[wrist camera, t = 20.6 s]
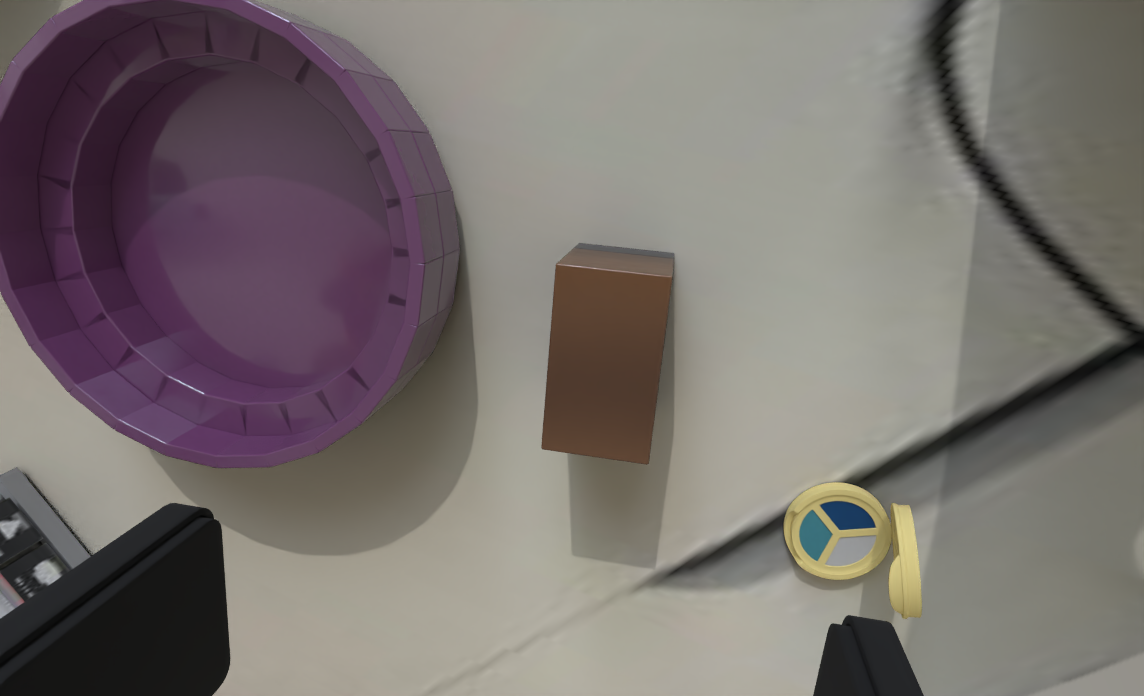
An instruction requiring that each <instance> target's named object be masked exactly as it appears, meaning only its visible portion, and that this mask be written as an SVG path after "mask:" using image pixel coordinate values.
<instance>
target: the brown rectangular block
mask: <svg viewBox="0 0 1144 696" xmlns="http://www.w3.org/2000/svg"><path fill="white" fill-rule="evenodd" d="M673 267H674V253H667V252H658V251H648V250H639V249H630V248H620V247H611V246H602V245H592V244H583V243H579V244H578V245H577V246H576V247H574V248H573V249H572V250H571V251H570V252H569V253H568V254H567V255H566V256H564V257H563V258H562V259H561V260H560V261H559V262H558V263H557V264H556V270H555V282H554V295H553V308H552V320H551V333H550V346H549V358H548V371H547V384H546V396H545V409H544V422H543V434H542V447H541V448H542V449H544V450H551V451H558V452H565V453H572V454H579V455H586V456H593V457H599V458H606V459H613V460H620V461H627V462H634V463H641V464H648V463H649V457H650V449H651V442H652V434H653V426H654V418H655V410H656V403H657V395H658V387H659V379H660V371H661V364H662V356H663V348H664V340H665V332H666V325H667V317H668V309H669V301H670V293H671V286H672V278H673Z"/></svg>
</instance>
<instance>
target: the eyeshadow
mask: <svg viewBox="0 0 1144 696" xmlns="http://www.w3.org/2000/svg"><path fill="white" fill-rule="evenodd" d="M783 529H784V536H785V540H786V543H787V546H788V548H789V550H790V552H791V553H792V555H793V557H794V558H795V560H796V562H797V563H798V565H799V566H800V567H801V568H803V569H804V570H806V571H807V572H809V573H811V574H813V575H816V576H818V577H822V578H826V579H832V580H844V579H851V578H855V577H858V576H861V575H863V574H865V573H867V572H869V571H871V570H872V569H874V568H875V567H876V566H877V565H878V564H879V563H880V562H881V561H882V560H883V559H884V557H885V556H886V554H887V552H888V550H889V548H890V545H891V540H892V542H893V554H894V561H893V563H892V564H891V567H890V571H889V597H890V602H891V605H892V607H893V609H894V610H895V611H897V612H898V613H900V614H901V615H902V618H903V619H907V618H908V617H918V618H920V617H921V612H922V599H921V582H920V570H919V560H918V551H917V543H916V535H915V529H914V523H913V517H912V513H911V509H910V506H909V505H897V504H895V503H892V504H891V524H890V521H889V518H888V516H887V514H886V512H885V511H884V509H883V507H882V505H881V504H880V503H879V501H878V500H877V499H876V498H875V497H874V496H873V495H872V494H870V493H869V492H867V491H866V490H864V489H862V488H860V487H858V486H855V485H852V484H847V483H835V482H834V483H825V484H821V485H817V486H814V487H812V488H810V489H808V490H806V491H805V492H803V493H802V494H800V495H799V496H798V497H797V498H796V499H795V500H794V501H793V502H792V503H791V504H790V506H789V508H788V510H787V512H786V515H785V519H784V527H783Z"/></svg>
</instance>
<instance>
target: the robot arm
mask: <svg viewBox="0 0 1144 696" xmlns="http://www.w3.org/2000/svg"><path fill="white" fill-rule="evenodd" d="M229 666H230V647H229V632H228V617H227V602H226V587H225V572H224V557H223V542H222V529H221V524H220V523H219V521H217V520H215V519H214V516H213V514H212V512H211V511H210V510H208V509H207V508H201V507H195V506H189V505H183V504H177V503H170V504H168V505H166V506H164V507H162V508H161V509H160V510H158V511H157V512H155V513H154V514H152V515H151V516H149V517H148V518H146V519H145V520H143V521H142V522H141V523H139V524H138V525H136V526H135V527H133V528H132V529H130V530H129V531H127V532H126V533H124V534H123V535H122V536H120V537H119V538H117V539H116V540H114V541H113V542H111V543H110V544H108V545H107V546H105V547H104V548H103V549H101V550H100V551H98V552H97V553H95V554H94V555H92V556H91V557H89V558H88V559H86V560H85V561H84V562H82V563H81V564H79V565H78V566H76V567H75V568H73V569H72V570H70V571H69V572H68V573H66V574H65V575H63V576H62V577H60V578H59V579H57V580H56V581H54V582H53V583H51V584H50V585H49V586H47V587H46V588H44V589H43V590H41V591H40V592H38V593H37V594H35V595H34V596H32V597H31V598H30V599H28V600H27V601H25V602H24V603H22V604H21V605H19V606H18V607H16V608H15V609H13V610H12V611H11V612H9V613H8V614H6V615H5V616H3V617H2V618H0V696H212V695H213V694H214V693H215V692H216V691H217V689H218V688H219V687H220V686H221V684H222V683H223V681H224V680H225V678H226V676H227V673H228V670H229ZM813 696H924V695H923V693H922V691H921V688H920V686H919V684H918V682H917V679H916V677H915V675H914V673H913V670H912V668H911V666H910V663H909V661H908V659H907V657H906V654H905V652H904V650H903V647H902V645H901V643H900V641H899V638H898V636H897V634H896V632H895V629H894V627H893V626H892V624H891V623H889V622H887V621H881V620H875V619H869V618H863V617H857V616H851V615H848V616H846V617H845V619H844V621H843V623H842V625H840V624H834V623H833V624H831V625H830V627H829V630H828V633H827V637H826V642H825V646H824V651H823V655H822V659H821V664H820V668H819V673H818V677H817V682H816V686H815V690H814V695H813Z"/></svg>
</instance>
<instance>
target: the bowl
mask: <svg viewBox="0 0 1144 696" xmlns="http://www.w3.org/2000/svg"><path fill="white" fill-rule="evenodd" d="M429 133H430V132H429V130H428V129H427V127H426V126H425V125H424V123H423V122H422V120H421V119H420V117H419V116H418V115H417V113H416V112H415V110H414V109H413V107H412V106H411V105H410V103H409V102H408V100H407V99H406V97H405V96H404V94H403V93H402V92H401V90H400V89H399V87H398V86H397V84H396V83H395V82H394V81H393V80H392V79H391V78H390V77H389V76H388V75H387V74H386V73H384V72H383V71H382V70H381V69H380V68H379V67H377V66H376V65H375V64H374V63H373V62H372V61H371V60H369V59H368V58H367V57H366V56H365V55H364V54H363V53H361V52H360V51H359V50H358V49H357V48H356V47H354V46H353V45H352V44H351V43H350V42H349V41H347V40H346V39H344V38H342V37H340V36H338V35H336V34H334V33H332V32H330V31H328V30H326V29H323V28H321V27H319V26H317V25H315V24H313V23H311V22H309V21H307V20H305V19H303V18H301V17H299V16H297V15H295V14H292V13H289V12H286V11H284V10H281V9H278V8H275V7H272V6H269V5H266V4H263V3H261V2H258V1H255V0H83V1H81V2H79V3H77V4H75V5H73V6H72V7H70V8H68V9H66V10H64V11H62V12H60V13H58V14H56V15H55V16H53V17H52V18H50V19H49V20H48V21H47V22H46V23H45V24H44V25H43V27H42V28H41V29H40V30H39V31H38V32H37V33H36V34H35V35H34V36H33V37H32V38H31V40H30V41H29V42H28V43H27V44H26V45H25V46H24V47H23V48H22V49H21V50H20V51H19V53H18V54H17V55H16V56H15V57H14V58H13V61H11V63H10V65H9V67H8V69H7V71H6V73H5V76H4V78H3V80H2V82H1V84H0V292H1V295H2V297H3V299H4V301H5V302H6V304H7V306H8V308H9V310H10V312H11V313H12V315H13V317H14V319H15V321H16V323H17V324H18V326H19V328H20V330H21V332H22V334H23V335H24V337H25V339H26V341H27V343H28V345H29V346H31V349H32V350H33V351H34V352H35V353H36V355H37V356H38V357H39V358H40V359H41V361H42V362H43V363H44V364H45V365H46V367H47V368H48V369H49V370H50V371H51V373H52V374H53V375H54V376H55V377H56V379H57V380H58V381H59V382H60V383H61V385H62V386H63V387H64V388H65V389H66V391H67V392H70V395H71V396H73V397H74V398H75V399H76V400H78V401H79V402H80V403H81V404H83V405H84V406H85V407H86V408H88V409H89V410H90V411H91V412H93V413H94V414H95V415H96V416H98V417H99V418H100V419H101V420H103V421H104V422H105V423H106V424H108V425H109V426H110V427H111V428H113V429H115V430H116V431H117V432H119V433H121V434H123V435H125V436H127V437H129V438H131V439H133V440H135V441H137V442H139V443H141V444H143V445H145V446H147V447H149V448H151V449H153V450H155V451H157V452H159V453H161V454H163V455H165V456H169V457H173V458H177V459H181V460H185V461H189V462H193V463H197V464H202V465H206V466H210V467H214V468H264V467H273V466H277V465H280V464H283V463H287V462H290V461H293V460H297V459H300V458H303V457H306V456H310V455H313V454H316V453H319V452H321V451H323V450H324V449H326V448H327V447H329V446H330V445H331V444H333V443H334V442H336V441H337V440H339V439H340V438H342V437H343V436H345V435H346V434H348V433H349V432H351V431H352V430H354V429H355V428H357V427H358V426H360V425H361V424H362V423H364V422H365V421H366V420H367V419H368V418H370V417H371V416H372V415H373V414H374V413H375V412H377V411H378V410H379V409H380V408H381V407H382V406H384V405H385V404H386V403H387V402H388V401H390V400H391V399H392V398H393V397H394V396H395V395H397V394H398V393H399V392H400V391H401V390H402V389H404V387H405V386H406V385H407V384H408V382H409V381H410V380H411V379H412V377H413V376H414V375H415V374H416V373H417V371H418V370H419V369H420V368H421V366H422V365H423V364H424V363H425V361H426V360H427V359H428V358H429V356H430V355H431V354H432V353H433V351H434V349H435V347H436V344H437V342H438V339H439V337H440V335H441V332H442V330H443V327H444V325H445V322H446V320H447V318H448V315H449V313H450V310H451V308H452V306H453V302H454V294H455V286H456V278H457V270H458V262H459V254H460V249H459V248H460V244H459V237H458V229H457V221H456V213H455V206H454V198H453V191H451V190H452V188H451V186H450V183H449V180H448V178H447V175H446V173H445V170H444V168H443V165H442V162H441V160H440V157H439V155H438V152H437V150H436V147H435V144H434V142H433V139H432V137H431V135H430V134H429Z"/></svg>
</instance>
